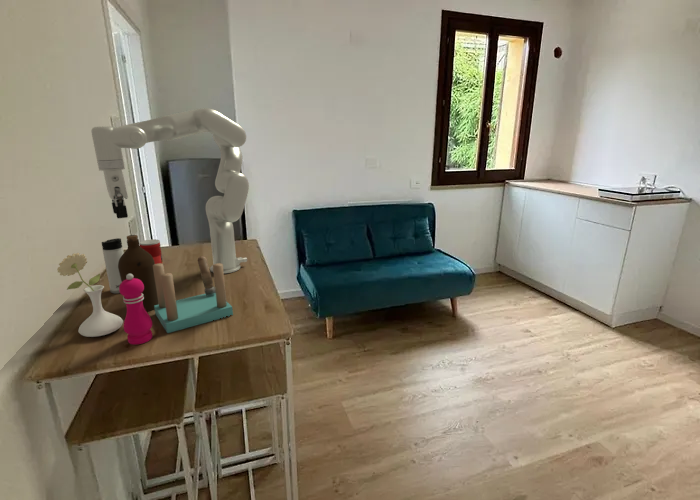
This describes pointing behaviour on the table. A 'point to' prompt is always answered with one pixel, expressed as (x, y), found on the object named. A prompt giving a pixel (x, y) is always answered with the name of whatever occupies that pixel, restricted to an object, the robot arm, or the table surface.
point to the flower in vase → (99, 319)
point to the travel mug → (113, 262)
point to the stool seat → (189, 302)
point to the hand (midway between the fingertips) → (120, 215)
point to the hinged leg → (206, 275)
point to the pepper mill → (135, 311)
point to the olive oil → (139, 270)
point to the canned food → (153, 249)
